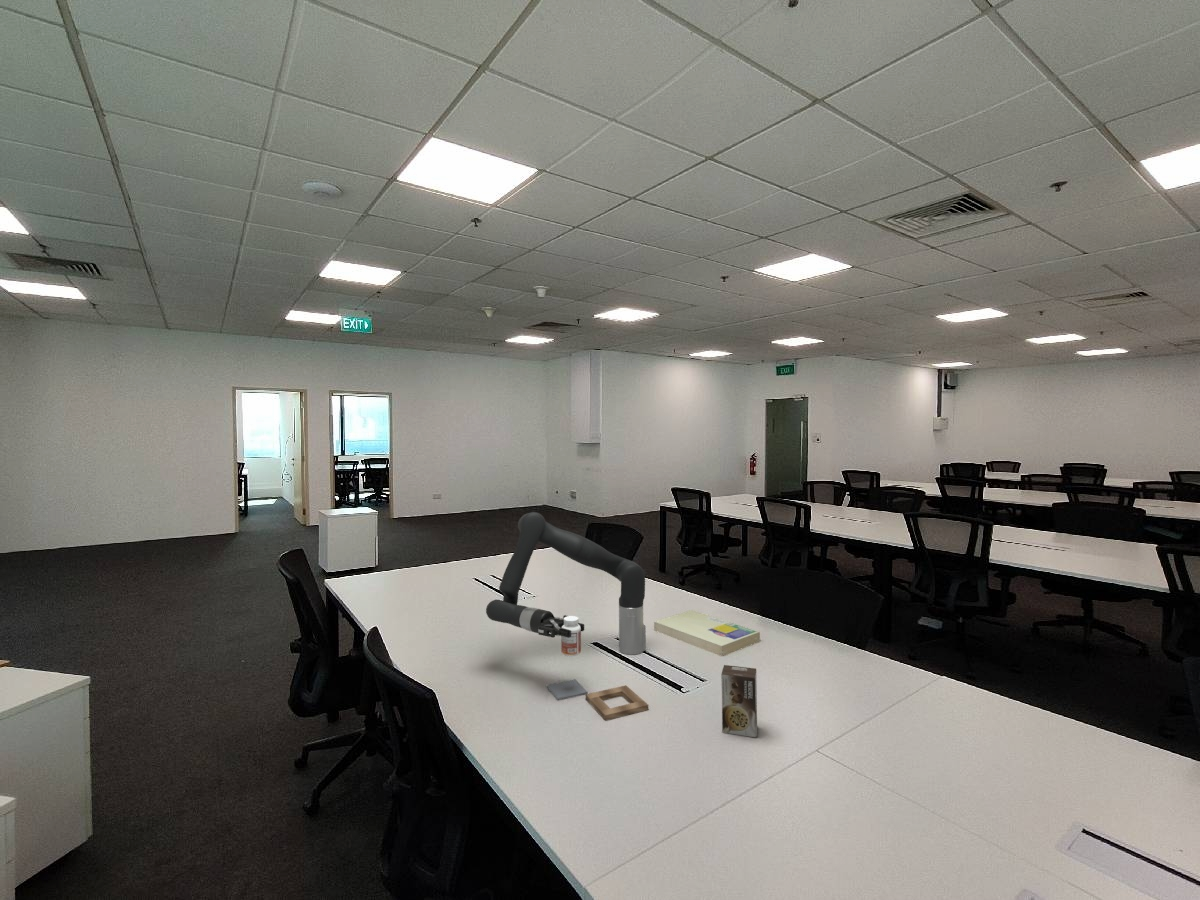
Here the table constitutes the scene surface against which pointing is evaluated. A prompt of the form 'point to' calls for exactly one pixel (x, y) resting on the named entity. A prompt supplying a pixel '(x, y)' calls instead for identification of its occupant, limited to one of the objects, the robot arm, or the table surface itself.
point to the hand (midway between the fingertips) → (577, 630)
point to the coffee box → (739, 701)
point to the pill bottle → (574, 642)
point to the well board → (611, 713)
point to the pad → (566, 689)
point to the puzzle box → (707, 632)
